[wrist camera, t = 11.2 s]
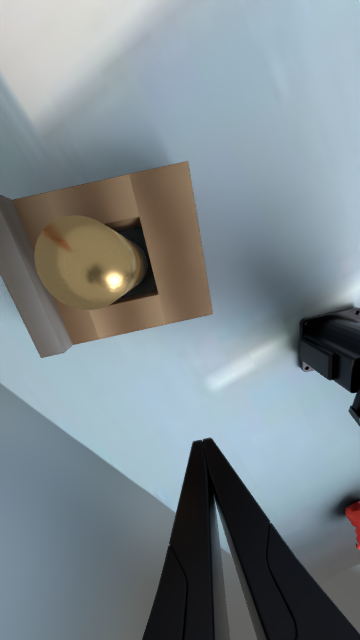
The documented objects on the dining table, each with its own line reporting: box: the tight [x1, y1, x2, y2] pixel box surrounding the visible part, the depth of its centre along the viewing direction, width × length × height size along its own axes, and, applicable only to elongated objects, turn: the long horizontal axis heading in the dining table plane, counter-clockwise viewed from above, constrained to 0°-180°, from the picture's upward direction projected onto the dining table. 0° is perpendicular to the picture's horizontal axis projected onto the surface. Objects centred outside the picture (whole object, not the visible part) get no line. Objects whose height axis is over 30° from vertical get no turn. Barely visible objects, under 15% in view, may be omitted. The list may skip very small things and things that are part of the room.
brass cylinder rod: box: [34, 215, 148, 310], centre depth 13 cm, size 4×4×9 cm
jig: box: [0, 161, 213, 358], centre depth 15 cm, size 14×11×5 cm
